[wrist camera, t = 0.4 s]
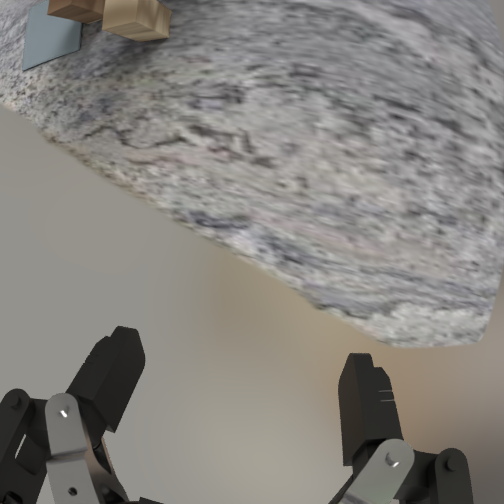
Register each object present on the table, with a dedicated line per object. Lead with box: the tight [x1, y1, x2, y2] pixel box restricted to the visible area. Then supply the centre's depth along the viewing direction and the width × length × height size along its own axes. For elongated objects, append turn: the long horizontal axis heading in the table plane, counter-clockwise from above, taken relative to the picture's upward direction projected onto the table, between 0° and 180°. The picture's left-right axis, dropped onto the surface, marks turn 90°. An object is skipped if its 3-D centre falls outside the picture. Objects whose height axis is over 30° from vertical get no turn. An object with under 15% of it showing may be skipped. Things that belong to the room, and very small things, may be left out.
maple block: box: [102, 0, 171, 42], centre depth 23 cm, size 4×4×9 cm
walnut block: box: [47, 0, 106, 24], centre depth 21 cm, size 4×4×9 cm
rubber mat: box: [22, 0, 83, 71], centre depth 26 cm, size 12×13×1 cm
